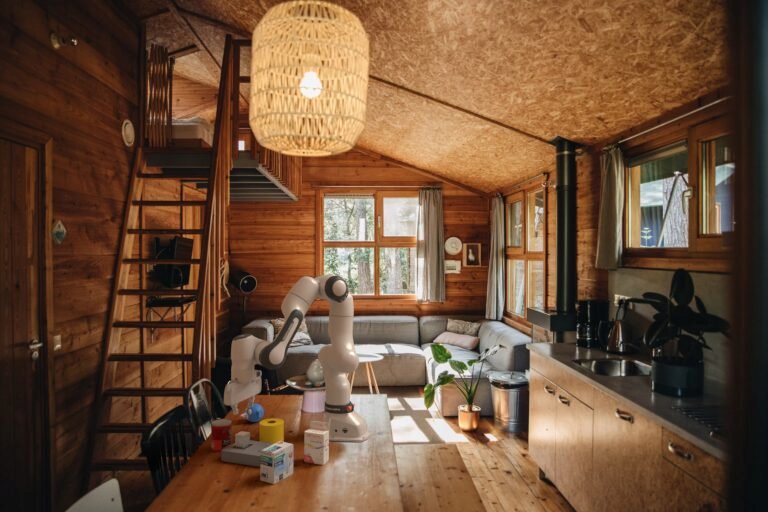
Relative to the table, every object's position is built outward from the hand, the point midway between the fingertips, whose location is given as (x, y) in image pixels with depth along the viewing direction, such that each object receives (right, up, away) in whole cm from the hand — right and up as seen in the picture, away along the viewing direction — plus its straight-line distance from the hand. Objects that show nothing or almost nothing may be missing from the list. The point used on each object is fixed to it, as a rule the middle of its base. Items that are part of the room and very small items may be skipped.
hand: (243, 410), depth 192 cm
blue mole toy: (-8, -19, +41) cm, 46 cm away
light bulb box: (+18, -18, -19) cm, 32 cm away
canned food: (-11, -18, +7) cm, 23 cm away
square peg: (0, -18, 0) cm, 18 cm away
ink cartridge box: (+30, -18, -5) cm, 35 cm away
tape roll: (+8, -18, +12) cm, 24 cm away
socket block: (+4, -18, -2) cm, 18 cm away
